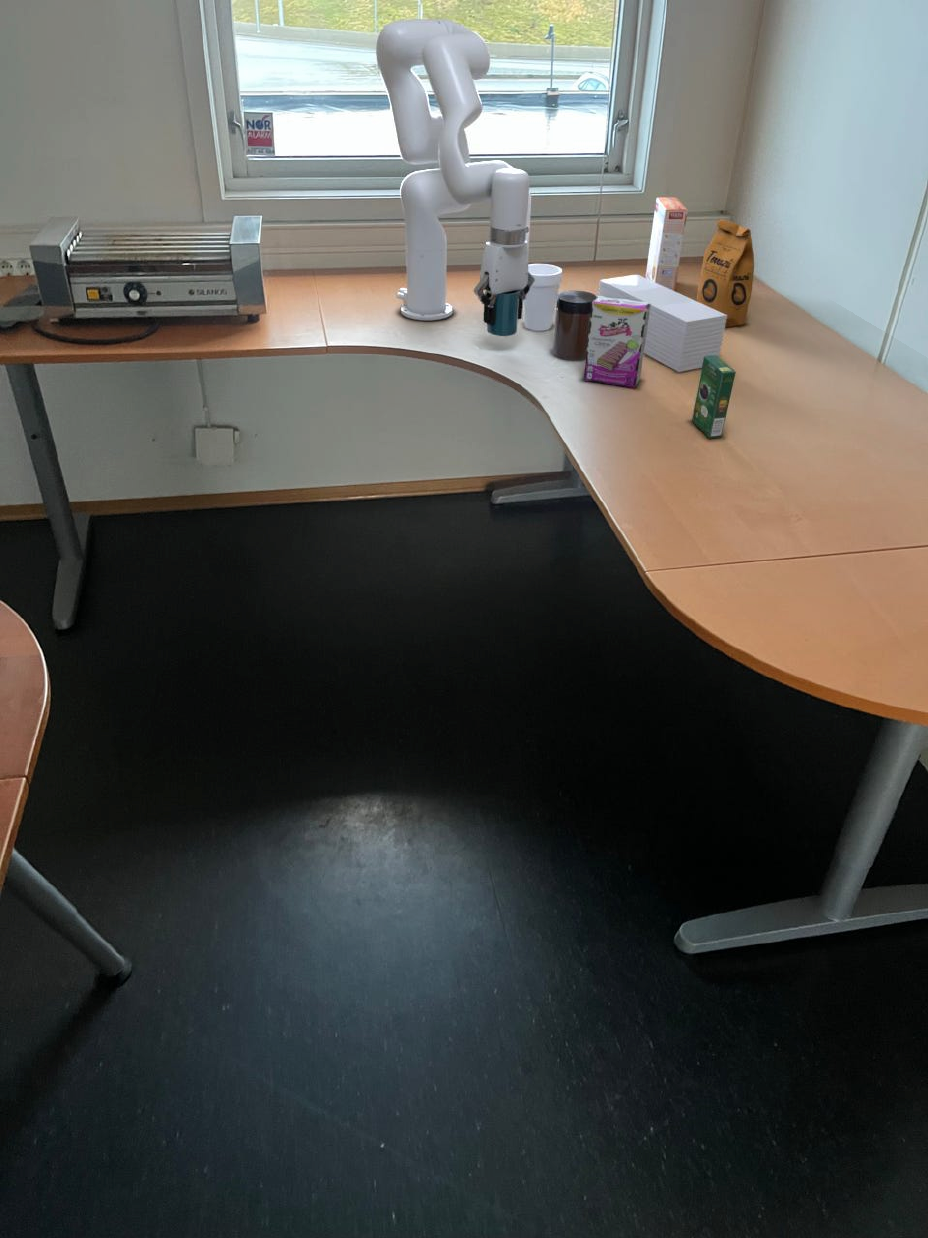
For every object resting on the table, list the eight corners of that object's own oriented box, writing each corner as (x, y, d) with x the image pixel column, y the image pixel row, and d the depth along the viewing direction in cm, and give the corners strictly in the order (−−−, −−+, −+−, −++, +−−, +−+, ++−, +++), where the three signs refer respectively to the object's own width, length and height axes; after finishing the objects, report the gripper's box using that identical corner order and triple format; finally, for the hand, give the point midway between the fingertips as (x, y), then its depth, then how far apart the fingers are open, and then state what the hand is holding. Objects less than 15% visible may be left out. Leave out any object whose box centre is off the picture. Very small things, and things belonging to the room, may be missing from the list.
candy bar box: (582, 381, 190) (590, 301, 180) (588, 373, 194) (596, 294, 184) (636, 389, 187) (647, 308, 177) (640, 380, 191) (651, 301, 181)
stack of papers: (717, 364, 199) (727, 314, 192) (678, 372, 195) (686, 321, 188) (631, 319, 222) (637, 274, 215) (594, 325, 218) (599, 279, 211)
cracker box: (675, 295, 238) (688, 209, 225) (652, 294, 238) (664, 208, 225) (666, 279, 249) (678, 196, 237) (644, 278, 249) (655, 195, 237)
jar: (545, 354, 202) (549, 300, 195) (566, 344, 207) (570, 291, 200) (577, 363, 198) (582, 308, 191) (598, 352, 203) (603, 299, 196)
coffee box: (723, 438, 169) (737, 370, 161) (709, 439, 168) (722, 371, 161) (704, 420, 175) (717, 353, 167) (690, 421, 175) (702, 354, 167)
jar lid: (548, 307, 196) (549, 296, 195) (570, 298, 201) (571, 287, 200) (582, 316, 192) (583, 305, 190) (603, 306, 197) (604, 295, 196)
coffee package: (716, 330, 217) (734, 232, 204) (688, 313, 226) (704, 218, 213) (751, 326, 220) (771, 229, 206) (723, 310, 229) (740, 216, 216)
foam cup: (554, 334, 212) (559, 276, 205) (515, 330, 214) (518, 273, 206) (559, 321, 220) (564, 265, 212) (521, 317, 221) (524, 262, 214)
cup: (480, 330, 201) (482, 289, 196) (498, 322, 206) (501, 282, 200) (505, 338, 198) (507, 296, 193) (522, 330, 203) (525, 289, 197)
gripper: (528, 225, 196) (522, 308, 207) (463, 236, 188) (460, 322, 199) (551, 233, 192) (543, 318, 203) (485, 245, 183) (481, 333, 194)
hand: (502, 319), depth 201 cm, fingers closed on cup, 6 cm apart
